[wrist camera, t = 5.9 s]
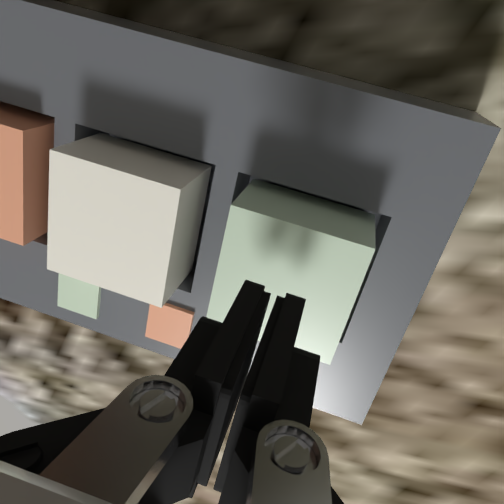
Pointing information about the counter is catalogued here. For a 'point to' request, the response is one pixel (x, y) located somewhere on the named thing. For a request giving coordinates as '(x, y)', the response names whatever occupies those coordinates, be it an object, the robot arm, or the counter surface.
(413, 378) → the counter surface
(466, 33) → the counter surface
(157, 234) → the cream key
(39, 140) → the terracotta key
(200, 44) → the keypad
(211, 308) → the sage key
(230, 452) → the robot arm
